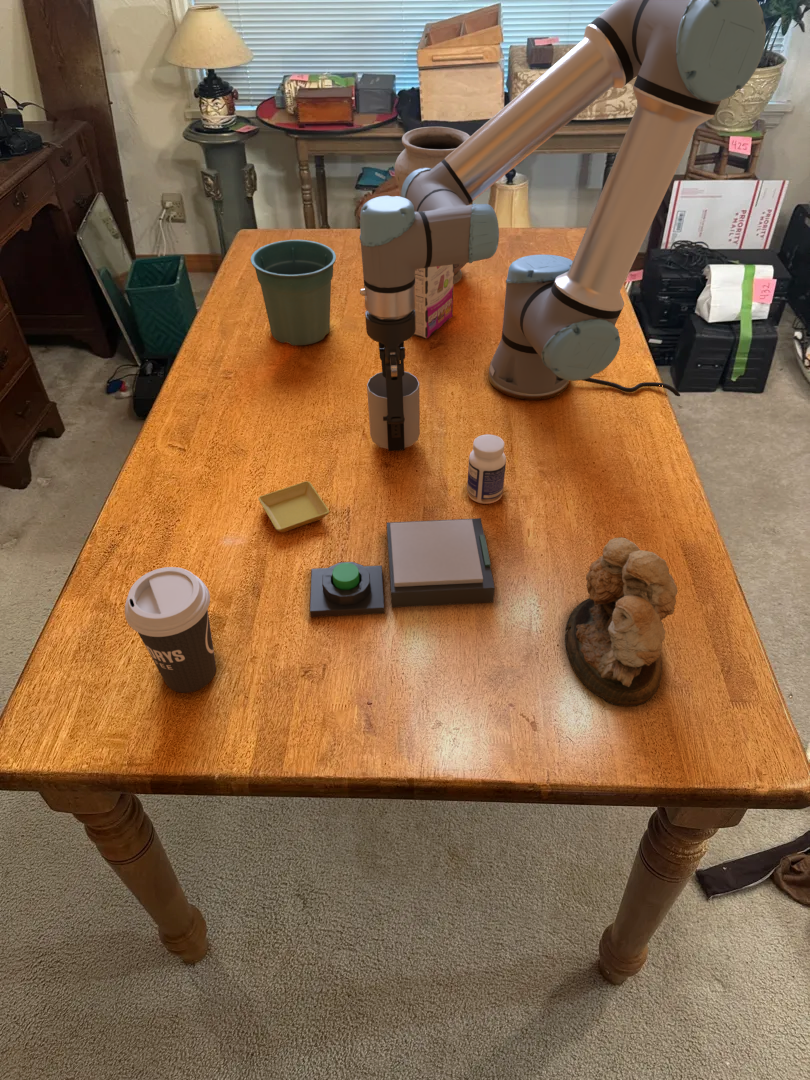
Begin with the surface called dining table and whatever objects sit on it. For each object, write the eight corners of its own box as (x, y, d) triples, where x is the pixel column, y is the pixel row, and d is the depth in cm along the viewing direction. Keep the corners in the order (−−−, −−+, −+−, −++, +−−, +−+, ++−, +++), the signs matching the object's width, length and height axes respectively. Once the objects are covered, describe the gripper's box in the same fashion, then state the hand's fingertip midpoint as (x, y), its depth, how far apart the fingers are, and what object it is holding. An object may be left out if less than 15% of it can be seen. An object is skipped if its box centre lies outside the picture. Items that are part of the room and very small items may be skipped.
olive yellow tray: (278, 540, 113) (276, 530, 112) (258, 506, 119) (256, 496, 117) (331, 522, 116) (330, 512, 115) (310, 489, 122) (308, 479, 120)
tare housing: (382, 570, 109) (381, 556, 107) (384, 613, 103) (384, 598, 101) (312, 574, 108) (310, 559, 106) (310, 617, 103) (308, 602, 100)
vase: (474, 294, 170) (484, 150, 150) (395, 294, 171) (393, 150, 150) (470, 260, 183) (478, 123, 162) (396, 259, 184) (395, 123, 163)
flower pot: (348, 316, 163) (344, 242, 152) (330, 355, 152) (323, 278, 140) (275, 310, 165) (265, 236, 154) (251, 348, 154) (238, 271, 142)
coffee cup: (157, 644, 99) (128, 564, 89) (231, 639, 100) (210, 559, 89) (145, 706, 92) (112, 627, 82) (224, 700, 93) (202, 621, 83)
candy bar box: (433, 311, 165) (434, 236, 153) (453, 317, 163) (456, 241, 151) (405, 333, 158) (405, 256, 146) (426, 339, 156) (427, 262, 145)
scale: (479, 532, 114) (481, 513, 112) (493, 602, 104) (495, 583, 102) (386, 536, 114) (386, 518, 111) (391, 607, 104) (391, 588, 101)
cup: (414, 452, 126) (413, 401, 119) (365, 446, 127) (362, 396, 120) (423, 422, 131) (423, 372, 124) (377, 417, 133) (374, 367, 126)
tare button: (359, 570, 105) (358, 562, 104) (359, 590, 103) (359, 581, 101) (333, 572, 105) (332, 563, 104) (333, 591, 103) (332, 582, 101)
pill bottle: (506, 486, 122) (512, 435, 115) (497, 508, 118) (503, 457, 111) (471, 478, 124) (475, 428, 117) (462, 500, 120) (465, 450, 113)
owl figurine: (549, 601, 104) (567, 508, 93) (632, 594, 105) (660, 501, 94) (585, 712, 92) (611, 621, 80) (679, 703, 92) (719, 612, 81)
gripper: (363, 278, 121) (371, 399, 136) (367, 346, 105) (375, 473, 121) (410, 276, 121) (412, 397, 137) (420, 344, 106) (421, 471, 122)
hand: (394, 432), depth 129 cm, fingers closed on cup, 8 cm apart
